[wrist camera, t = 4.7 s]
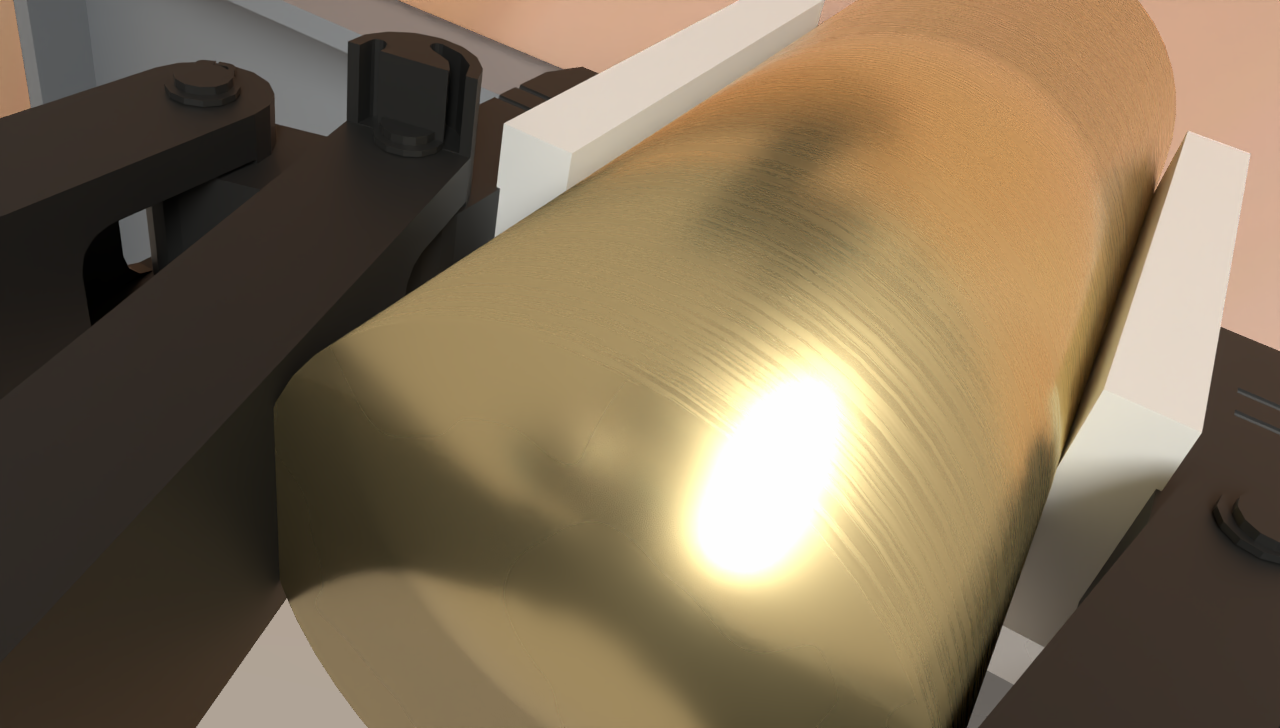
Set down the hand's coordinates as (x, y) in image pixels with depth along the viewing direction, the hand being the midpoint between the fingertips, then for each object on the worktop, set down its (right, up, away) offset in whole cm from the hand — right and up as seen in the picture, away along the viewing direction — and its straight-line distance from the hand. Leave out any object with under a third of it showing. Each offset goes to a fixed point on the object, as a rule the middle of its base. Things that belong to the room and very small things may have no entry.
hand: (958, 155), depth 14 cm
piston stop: (+1, +1, +1) cm, 2 cm away
